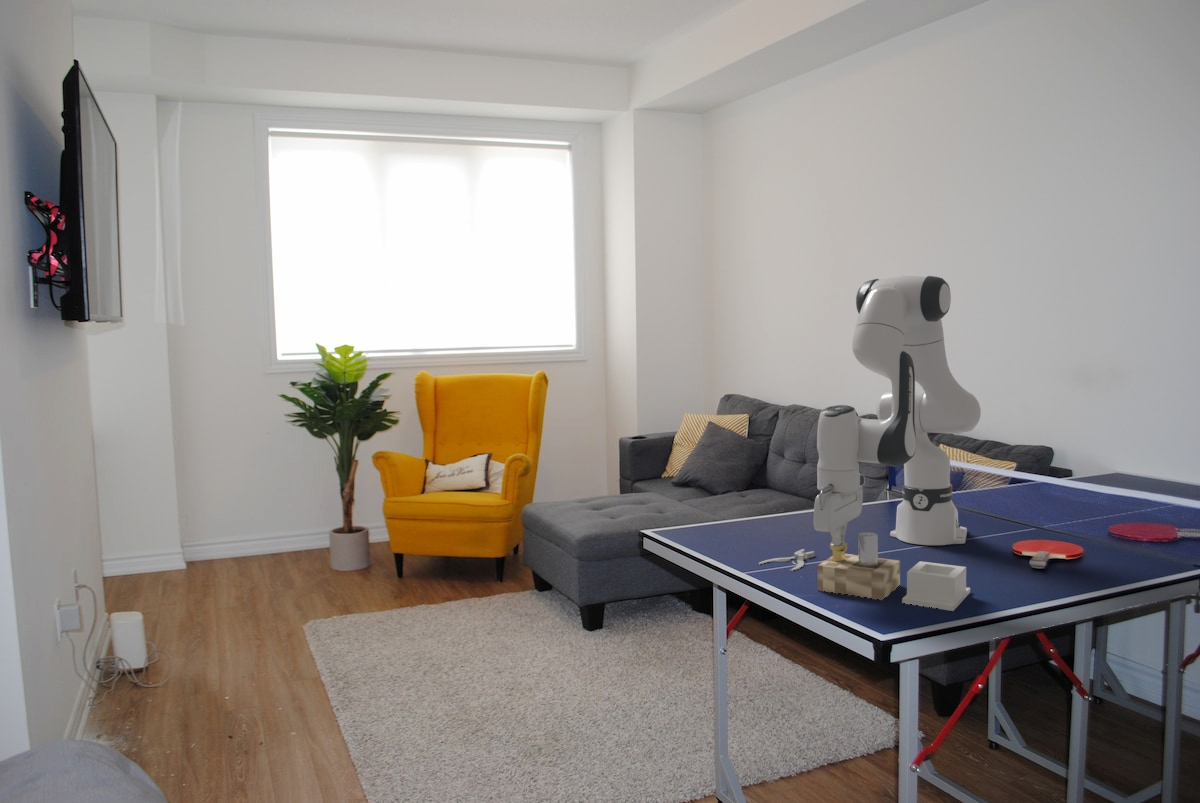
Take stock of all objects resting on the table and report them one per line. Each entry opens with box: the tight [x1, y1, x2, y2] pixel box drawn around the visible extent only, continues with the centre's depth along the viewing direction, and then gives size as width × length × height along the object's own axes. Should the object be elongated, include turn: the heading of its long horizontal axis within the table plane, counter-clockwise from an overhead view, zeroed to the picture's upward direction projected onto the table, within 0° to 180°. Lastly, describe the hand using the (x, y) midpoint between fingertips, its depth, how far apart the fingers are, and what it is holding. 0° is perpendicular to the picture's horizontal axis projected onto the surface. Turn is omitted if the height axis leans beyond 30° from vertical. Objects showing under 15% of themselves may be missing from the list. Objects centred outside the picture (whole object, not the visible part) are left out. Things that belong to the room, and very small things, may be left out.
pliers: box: [757, 548, 815, 572], centre depth 219 cm, size 10×2×15 cm
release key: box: [829, 542, 848, 562], centre depth 198 cm, size 4×4×8 cm
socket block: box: [816, 553, 901, 601], centre depth 196 cm, size 12×14×6 cm
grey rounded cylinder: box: [857, 531, 879, 569], centre depth 194 cm, size 4×4×12 cm
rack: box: [901, 560, 971, 612], centre depth 187 cm, size 14×10×6 cm
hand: (838, 543), depth 198 cm, fingers closed, pressing on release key
